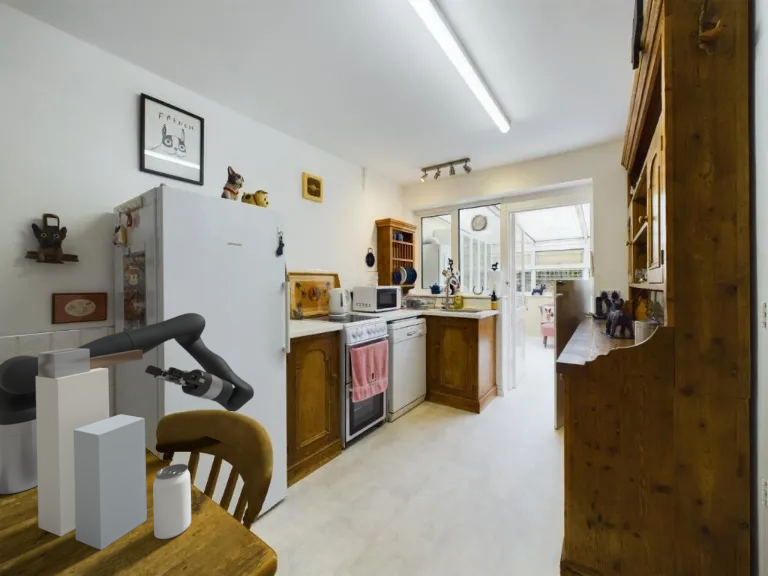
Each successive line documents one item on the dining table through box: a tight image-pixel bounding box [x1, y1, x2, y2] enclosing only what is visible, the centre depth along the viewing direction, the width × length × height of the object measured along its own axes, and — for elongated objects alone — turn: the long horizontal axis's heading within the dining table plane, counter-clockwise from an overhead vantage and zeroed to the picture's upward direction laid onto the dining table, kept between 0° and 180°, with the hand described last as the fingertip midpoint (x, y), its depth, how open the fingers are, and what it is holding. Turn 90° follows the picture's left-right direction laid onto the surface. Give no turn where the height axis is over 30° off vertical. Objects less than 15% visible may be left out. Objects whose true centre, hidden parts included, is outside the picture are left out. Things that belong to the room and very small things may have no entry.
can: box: [152, 463, 192, 540], centre depth 68 cm, size 6×6×12 cm
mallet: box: [37, 347, 144, 379], centre depth 76 cm, size 6×18×5 cm, turn 160°
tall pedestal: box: [36, 367, 110, 537], centre depth 72 cm, size 8×9×32 cm
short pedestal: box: [74, 413, 148, 551], centre depth 68 cm, size 8×8×22 cm
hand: (157, 369), depth 89 cm, fingers open, 8 cm apart
